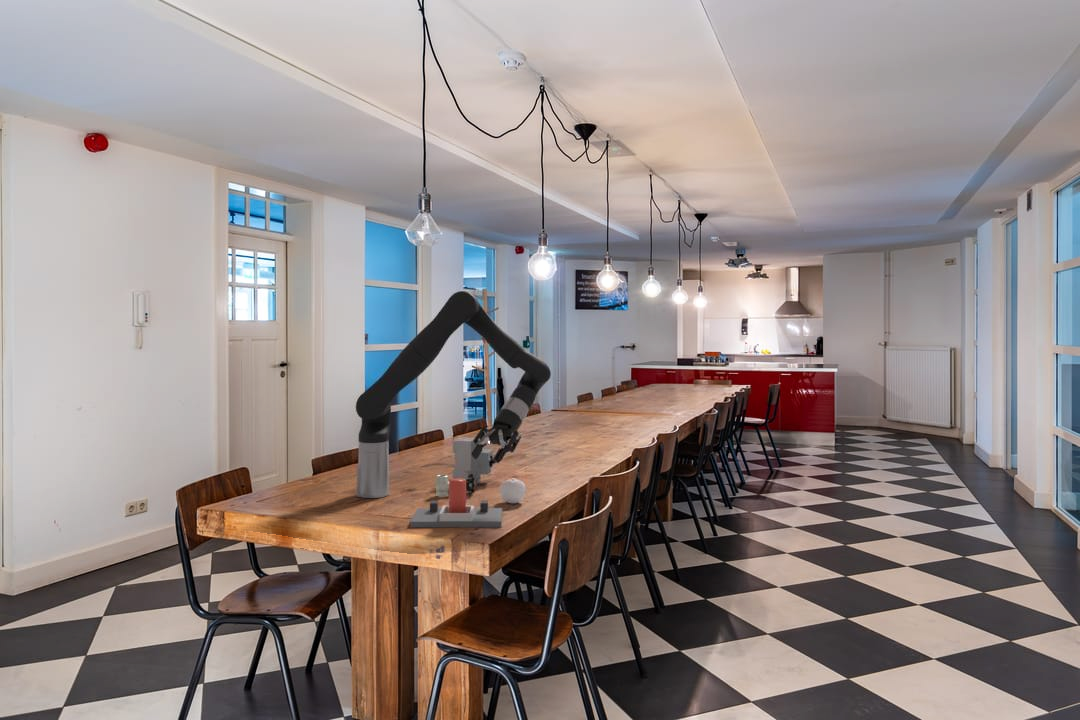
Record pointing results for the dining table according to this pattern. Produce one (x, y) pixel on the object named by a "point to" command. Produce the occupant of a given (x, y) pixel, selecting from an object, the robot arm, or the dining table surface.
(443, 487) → the valve
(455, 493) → the cap
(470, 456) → the circuit breaker
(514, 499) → the white folded ball
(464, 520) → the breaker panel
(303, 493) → the dining table surface
